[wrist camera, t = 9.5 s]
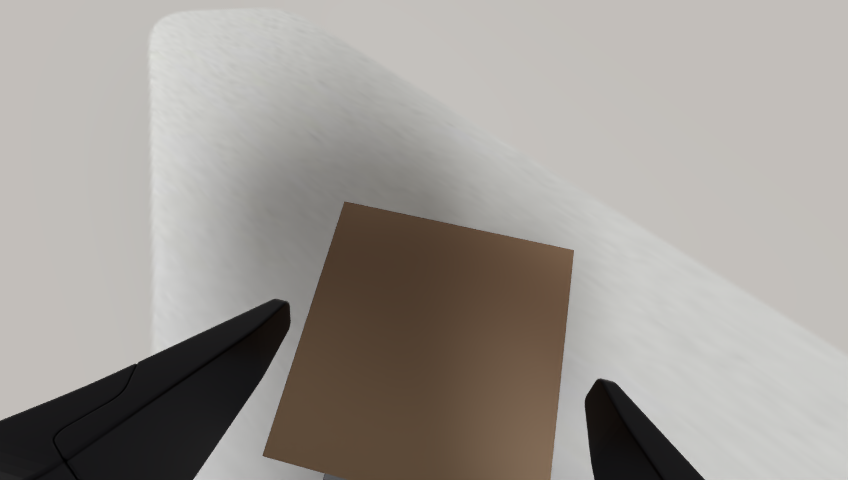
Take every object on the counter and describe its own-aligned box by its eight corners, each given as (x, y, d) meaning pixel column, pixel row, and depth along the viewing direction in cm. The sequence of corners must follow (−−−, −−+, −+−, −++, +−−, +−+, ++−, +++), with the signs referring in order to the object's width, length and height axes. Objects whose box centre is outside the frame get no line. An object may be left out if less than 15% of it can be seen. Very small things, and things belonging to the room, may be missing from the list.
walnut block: (461, 392, 16) (544, 534, 5) (376, 371, 17) (262, 455, 5) (476, 306, 17) (573, 250, 6) (398, 287, 18) (344, 201, 6)
